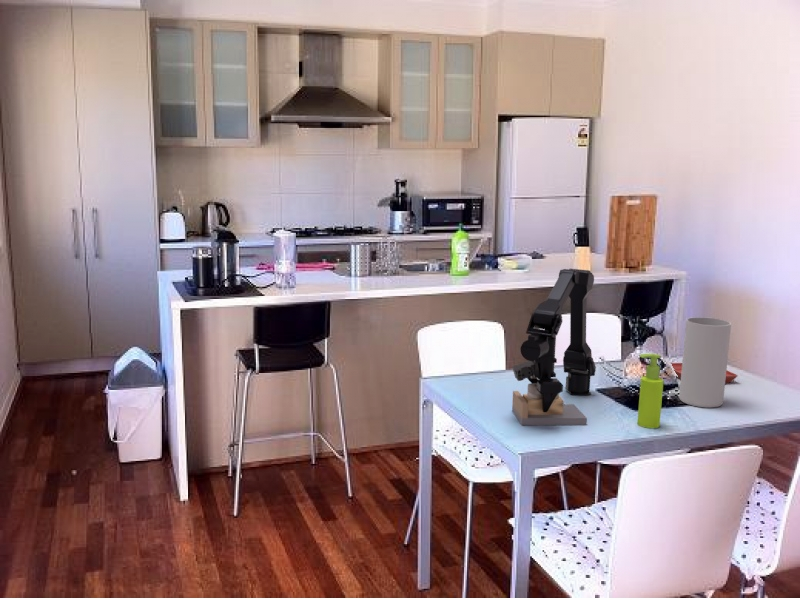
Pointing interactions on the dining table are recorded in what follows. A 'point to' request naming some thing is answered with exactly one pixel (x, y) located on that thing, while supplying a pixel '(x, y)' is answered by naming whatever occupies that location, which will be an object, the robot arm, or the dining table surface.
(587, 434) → the dining table surface
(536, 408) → the glass caddy
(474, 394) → the dining table surface
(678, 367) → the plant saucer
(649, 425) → the soap dispenser
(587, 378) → the robot arm
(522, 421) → the l-shaped bookend
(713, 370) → the cylinder vase
